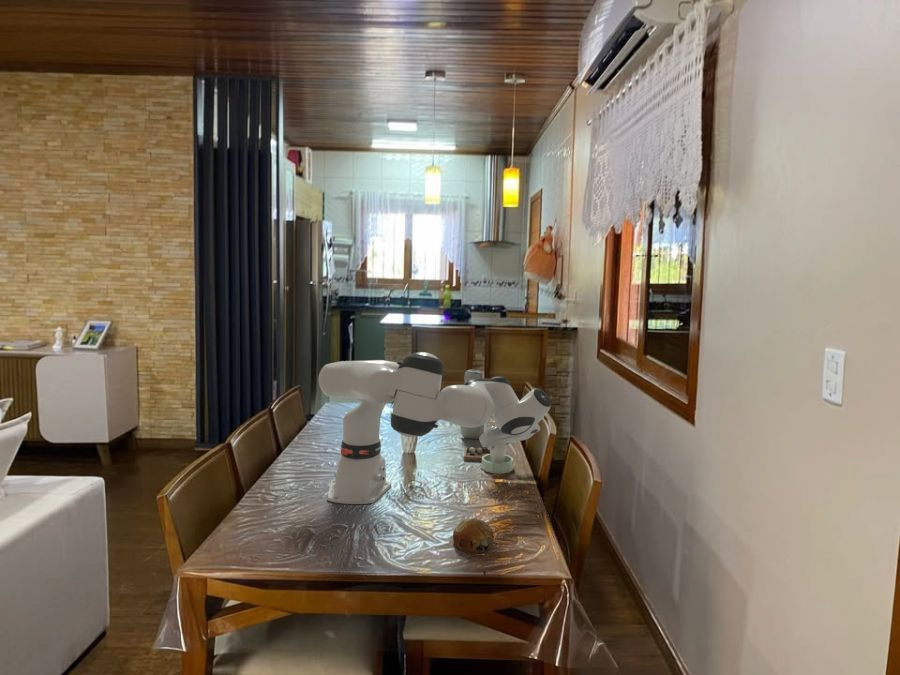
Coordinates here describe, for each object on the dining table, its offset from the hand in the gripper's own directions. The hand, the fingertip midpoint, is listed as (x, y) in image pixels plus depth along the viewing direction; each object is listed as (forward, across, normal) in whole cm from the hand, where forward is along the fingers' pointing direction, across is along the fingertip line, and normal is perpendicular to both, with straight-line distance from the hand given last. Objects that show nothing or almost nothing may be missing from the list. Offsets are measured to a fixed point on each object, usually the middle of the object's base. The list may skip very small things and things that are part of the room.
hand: (496, 446), depth 205 cm
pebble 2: (+16, +5, +5) cm, 17 cm away
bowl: (+5, 0, -6) cm, 8 cm away
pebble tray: (+15, +2, +3) cm, 15 cm away
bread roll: (-22, -40, -34) cm, 57 cm away
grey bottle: (+30, +16, +18) cm, 39 cm away
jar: (+4, 0, -5) cm, 6 cm away
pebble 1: (+17, +2, +6) cm, 18 cm away
